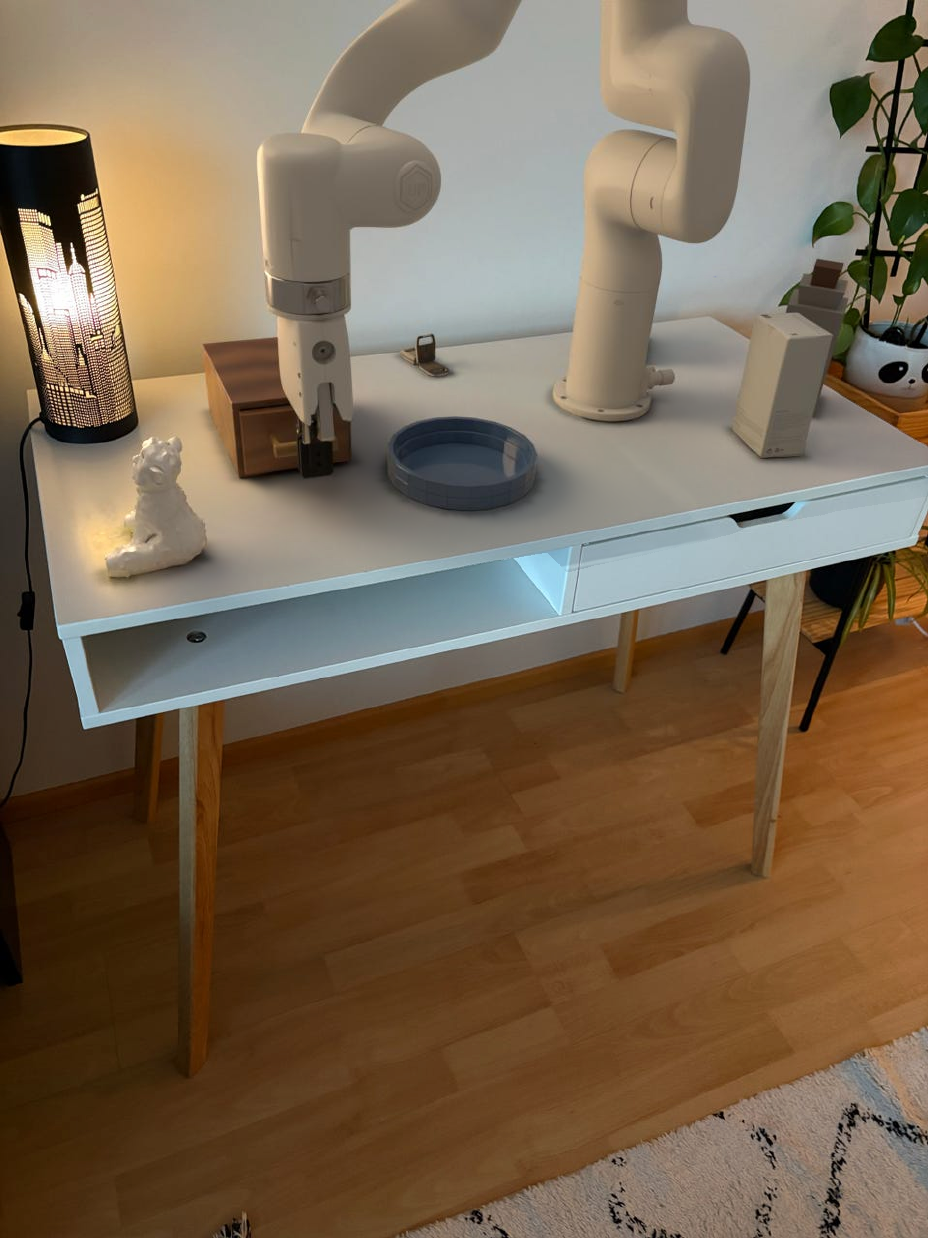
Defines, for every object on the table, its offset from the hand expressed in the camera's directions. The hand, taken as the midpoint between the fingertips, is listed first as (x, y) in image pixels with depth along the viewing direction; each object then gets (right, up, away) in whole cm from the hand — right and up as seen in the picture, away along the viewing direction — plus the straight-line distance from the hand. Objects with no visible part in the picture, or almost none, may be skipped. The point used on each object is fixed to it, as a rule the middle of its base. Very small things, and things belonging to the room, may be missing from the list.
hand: (315, 472), depth 96 cm
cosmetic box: (+52, +7, +21) cm, 56 cm away
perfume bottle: (+58, +14, +31) cm, 68 cm away
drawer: (-5, +5, +11) cm, 13 cm away
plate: (+15, +1, +10) cm, 18 cm away
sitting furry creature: (-14, -9, -5) cm, 17 cm away
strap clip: (+10, +20, +34) cm, 41 cm away
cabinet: (-7, +6, +15) cm, 17 cm away
